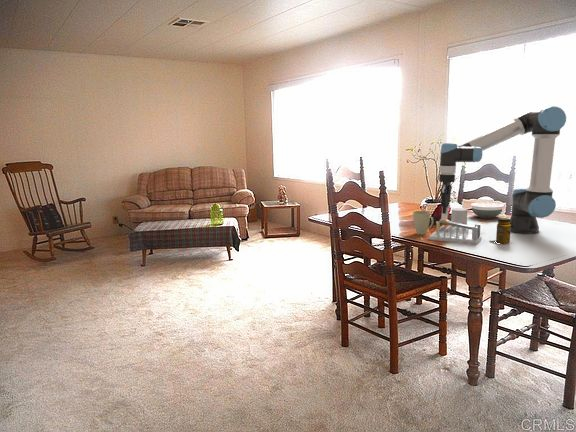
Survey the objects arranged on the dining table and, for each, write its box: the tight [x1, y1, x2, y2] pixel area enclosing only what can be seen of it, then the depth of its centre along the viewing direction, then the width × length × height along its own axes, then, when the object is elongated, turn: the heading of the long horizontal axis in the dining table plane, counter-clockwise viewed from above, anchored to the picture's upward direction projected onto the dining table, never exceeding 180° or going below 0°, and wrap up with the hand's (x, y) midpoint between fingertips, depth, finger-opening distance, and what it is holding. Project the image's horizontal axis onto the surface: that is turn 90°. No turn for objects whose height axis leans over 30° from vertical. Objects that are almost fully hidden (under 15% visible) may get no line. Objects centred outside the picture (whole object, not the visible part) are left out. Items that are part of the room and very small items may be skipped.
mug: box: [412, 210, 435, 235], centre depth 226 cm, size 11×10×12 cm
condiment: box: [488, 217, 513, 246], centre depth 202 cm, size 7×8×12 cm
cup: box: [450, 207, 468, 233], centre depth 230 cm, size 8×8×12 cm
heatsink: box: [428, 221, 483, 245], centre depth 212 cm, size 23×12×8 cm, turn 55°
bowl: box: [470, 201, 505, 220], centre depth 260 cm, size 19×19×8 cm
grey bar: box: [438, 218, 481, 231], centre depth 210 cm, size 19×4×2 cm, turn 55°
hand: (444, 219), depth 214 cm, fingers closed
